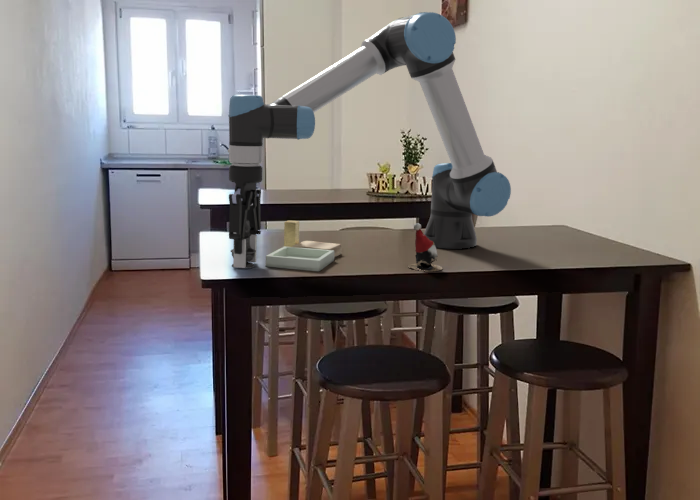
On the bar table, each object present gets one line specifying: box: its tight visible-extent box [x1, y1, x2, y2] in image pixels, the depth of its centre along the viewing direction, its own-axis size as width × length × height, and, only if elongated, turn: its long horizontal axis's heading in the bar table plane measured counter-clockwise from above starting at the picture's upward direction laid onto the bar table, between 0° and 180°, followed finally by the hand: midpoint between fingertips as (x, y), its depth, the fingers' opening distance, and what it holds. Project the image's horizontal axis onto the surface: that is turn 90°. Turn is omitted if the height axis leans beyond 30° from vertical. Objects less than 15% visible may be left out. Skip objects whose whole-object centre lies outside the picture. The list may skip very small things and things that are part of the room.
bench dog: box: [283, 220, 300, 247], centre depth 182 cm, size 3×3×8 cm
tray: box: [265, 245, 335, 272], centre depth 169 cm, size 13×13×2 cm
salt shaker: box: [230, 219, 256, 269], centre depth 164 cm, size 6×6×12 cm
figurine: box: [407, 222, 443, 273], centre depth 168 cm, size 8×10×12 cm
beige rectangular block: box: [293, 240, 342, 258], centre depth 181 cm, size 10×8×3 cm
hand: (245, 264), depth 165 cm, fingers closed on salt shaker, 6 cm apart
